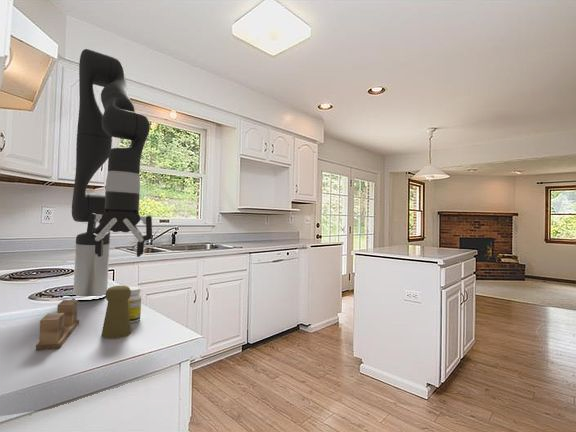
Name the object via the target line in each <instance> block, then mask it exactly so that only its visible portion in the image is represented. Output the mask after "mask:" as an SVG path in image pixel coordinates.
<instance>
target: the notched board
mask: <svg viewBox="0 0 576 432" xmlns="http://www.w3.org/2000/svg"><path fill="white" fill-rule="evenodd" d="M78 302H79V301H78V300H74V299H63V300H61V302H59V303H58V304H57V311H56V312H54V313H46V315H44V316H43V317H42V318H41V319H40V320H39V334H38V335H39V336H38V343H37V344H36V345H35V351H43V350H45V351H46V350H55V349H56V350H58V349H59V350H60V348H61V347H62V346H63V345H64V343H65V342H66V340H68V338H69V337H70V335H71V334H72V333H73V332H74V330H75V329H76V328H77V327H78V326H79V324H80V319H78V305H79V303H78Z"/></svg>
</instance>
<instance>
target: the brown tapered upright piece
mask: <svg viewBox="0 0 576 432" xmlns="http://www.w3.org/2000/svg"><path fill="white" fill-rule="evenodd" d="M129 287H130V286H127V285H113V286H110V287H109V288H108V287H107V291H106V297H105V300H106V301H107V306H106V311H105V314H104V320H103V325H102V329H101V338H103V339H108V340H114V339H122V338H124V337H127V336H129V335H131V331H132V329H131V323H130V318H129V307H128V299H129V298H130V296H131V290H130V288H129Z"/></svg>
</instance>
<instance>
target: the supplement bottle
mask: <svg viewBox="0 0 576 432" xmlns="http://www.w3.org/2000/svg"><path fill="white" fill-rule="evenodd" d="M128 287H129V288H130V290H131V296H130V298H129V299H128V307H129V318H130V324H131V323H132V324H133V323H137V322H139V321H140V320H141V312H142V295H141V288H140V287H139V286H128Z"/></svg>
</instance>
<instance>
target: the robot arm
mask: <svg viewBox="0 0 576 432" xmlns="http://www.w3.org/2000/svg"><path fill="white" fill-rule="evenodd" d="M78 63H79V65H78V67H79V69H78V74H79V75H78V77H79V78H78V79H79V81H78V82H79V84H78V85H79V86H78V87H79V90H78V91H79V107H78V118H77V119H78V120H77V127H76V128H77V131H76V149H75V154H76V155H75V157H76V158H75V177H74V185H73V193H72V202H71V217H72V220H73V221H75V222H76V223H87V225H86V227H87V229H86V232H82V233H79V234H77V235H76V237H75V247H74V248H75V252H74V253H75V255H74V271H73V273H74V275H73V277H74V278H73V291H72V292H73V293H72V295H73V294H74V295H76V296H102V295H106V291H107V290H108V283H109V282H108V281H109V280H108V279H109V267H110V266H109V262H110V242H111V239H110V238H111V232H113V233H119V232H122V233H129V232H131V233H132V235H133V236H134V237H135V239H137V242H136V244H137V245H136V257H138V258H139V257H140V258H141V255H143V254H144V252H145V251H144V250H145V242H146V241H149V240H151V239H152V238H153V217H152V215H147V216H141V215H140V212H139V210H140V194H141V190H140V189H141V178H140V174H141V173H140V171H141V160H142V159H141V158H142V154H143V151H144V147H145V144H146V142H147V139H148V136H149V135H150V134H149V133H150V130H151V125H150V121H149V119H148V118H147V116H146V115H144V114H142V113H139V112H136V111H135V106H134V104H133V102H132V100H131V97H130V95H129V93H128V86H127V80H126V74H125V70H124V66H123V64H122V62H121V60H119V59H118V58H115V57H114V56H111V55H108V54H104V53H102V52H98V51H95V50H93V49H88V48H85V49H82V51H81V53H80V56H79V62H78ZM94 85H95V86H99V87H102V90H101V92H100V101H101V104H102V107H103V110H104V112H102V110H101V108H100V105H98V101H97V100H96V95H95V92H94ZM113 138H116V139H122V140H127V141H131V143H130V145H128V146H124V147H112V146H113V145H112V144H113ZM107 160H108V161H107ZM106 161H107V174H106V175H107V176H106V180H105V185H104V187H105V188H104V189H105V193H92V192H90V193H89V192H86V190H87V188H88V186H89V183H90V181H91V180H92V179H93V177H94V175H95V174H96V173H97V172H98V170H99V169H100V168H101V167H102V166H103V165H104V164H105V163H106ZM141 221H142V223H143V225H145V235H143V234H142V233H141V231H140V230H139V228H138V227H137V225H138V224H139V223H140V222H141ZM97 223H98V226H97Z"/></svg>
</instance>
